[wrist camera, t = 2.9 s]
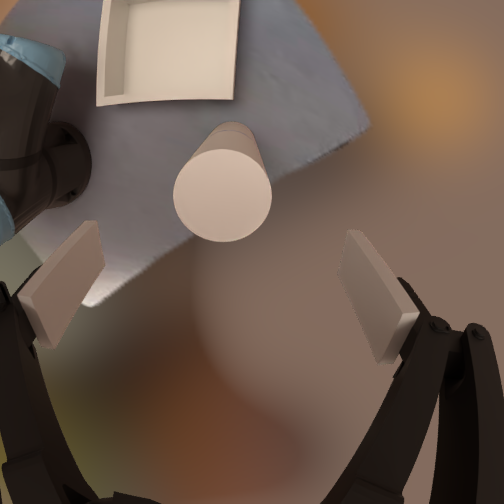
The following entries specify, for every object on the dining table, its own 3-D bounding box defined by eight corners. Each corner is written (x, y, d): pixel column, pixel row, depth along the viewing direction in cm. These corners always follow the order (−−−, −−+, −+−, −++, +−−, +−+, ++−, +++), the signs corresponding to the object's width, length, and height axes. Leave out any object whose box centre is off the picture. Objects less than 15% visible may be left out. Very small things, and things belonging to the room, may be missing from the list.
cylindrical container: (259, 126, 42) (282, 160, 20) (249, 170, 45) (259, 249, 23) (212, 117, 41) (180, 141, 19) (204, 162, 44) (168, 233, 22)
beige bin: (118, 103, 38) (96, 106, 31) (125, 1, 29) (105, -12, 22) (233, 99, 39) (232, 99, 32) (241, -7, 31) (241, -26, 24)
